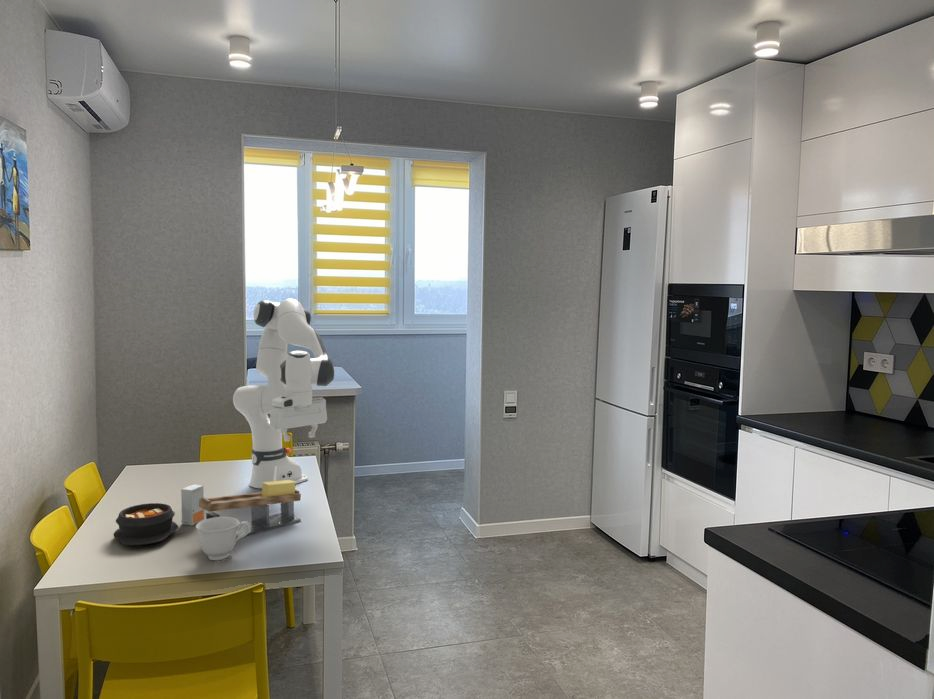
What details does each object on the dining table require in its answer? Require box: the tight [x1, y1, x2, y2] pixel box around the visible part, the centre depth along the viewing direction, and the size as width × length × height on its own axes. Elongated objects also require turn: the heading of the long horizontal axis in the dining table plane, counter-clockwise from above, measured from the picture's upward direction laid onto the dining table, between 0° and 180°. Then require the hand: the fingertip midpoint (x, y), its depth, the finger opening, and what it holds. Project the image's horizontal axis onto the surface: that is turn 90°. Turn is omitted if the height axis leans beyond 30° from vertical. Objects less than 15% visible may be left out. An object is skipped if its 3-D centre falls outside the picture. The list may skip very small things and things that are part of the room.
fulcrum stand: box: [205, 501, 302, 538], centre depth 232 cm, size 30×10×8 cm, turn 135°
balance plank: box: [199, 488, 302, 512], centre depth 231 cm, size 32×7×3 cm, turn 135°
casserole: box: [113, 502, 179, 546], centre depth 225 cm, size 25×19×8 cm
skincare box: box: [180, 484, 205, 526], centre depth 237 cm, size 6×4×12 cm
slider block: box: [261, 480, 296, 497], centre depth 238 cm, size 10×4×4 cm, turn 135°
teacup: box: [195, 516, 250, 561], centre depth 209 cm, size 12×15×10 cm
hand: (299, 439), depth 243 cm, fingers open, 8 cm apart
